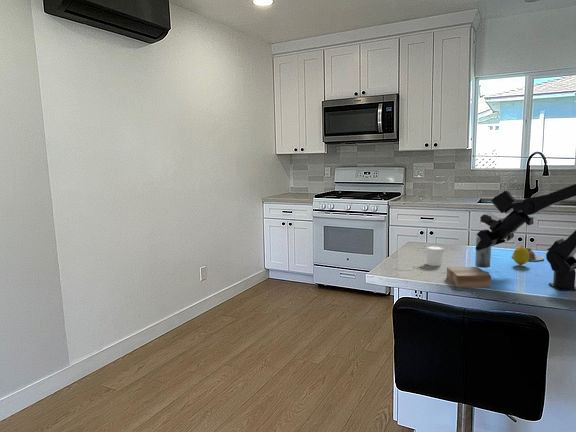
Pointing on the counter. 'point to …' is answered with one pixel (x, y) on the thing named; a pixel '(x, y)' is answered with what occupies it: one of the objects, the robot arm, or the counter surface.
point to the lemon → (521, 255)
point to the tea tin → (482, 256)
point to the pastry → (533, 256)
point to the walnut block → (468, 277)
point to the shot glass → (434, 255)
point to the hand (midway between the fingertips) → (479, 248)
